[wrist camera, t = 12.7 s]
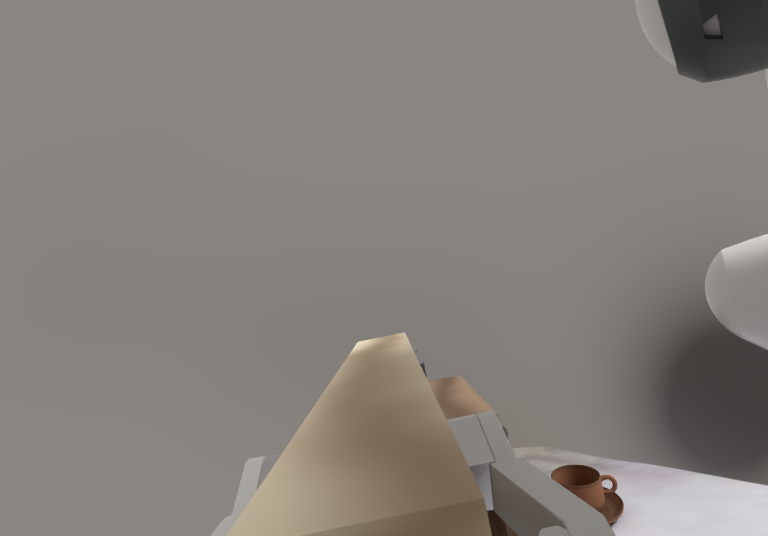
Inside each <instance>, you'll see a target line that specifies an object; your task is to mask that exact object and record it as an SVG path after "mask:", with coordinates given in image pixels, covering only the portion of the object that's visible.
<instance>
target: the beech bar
mask: <svg viewBox="0 0 768 536" xmlns="http://www.w3.org/2000/svg"><path fill="white" fill-rule="evenodd" d="M226 536H492V533H491V528H490V523H489V519H488V514H487V509H486V504H485V499H484V497H483V495H482V492H481V490H480V488H479V486H478V484H477V482H476V480H475V478H474V476H473V474H472V472H471V470H470V468H469V465H468V463H467V461H466V459H465V457H464V455H463V453H462V451H461V449H460V447H459V445H458V443H457V440H456V438H455V436H454V434H453V432H452V430H451V428H450V426H449V424H448V422H447V420H446V418H445V415H444V413H443V411H442V409H441V407H440V405H439V403H438V401H437V399H436V397H435V395H434V393H433V391H432V388H431V386H430V384H429V382H428V380H427V378H426V376H425V374H424V372H423V370H422V368H421V366H420V363H419V361H418V359H417V357H416V355H415V353H414V351H413V349H412V347H411V345H410V343H409V341H408V339H407V336H406V334H405V333H400V334H395V335H390V336H385V337H380V338H375V339H370V340H366V341H360V342H358V343H357V344H356V346H355V347H354V349H353V350H352V351H351V353H350V355H349V356H348V357H347V359H346V360H345V362H344V363H343V365H342V366H341V368H340V369H339V371H338V372H337V374H336V375H335V376H334V378H333V379H332V381H331V382H330V384H329V385H328V387H327V388H326V390H325V391H324V393H323V394H322V396H321V397H320V398H319V400H318V402H317V403H316V404H315V406H314V407H313V409H312V410H311V412H310V413H309V415H308V416H307V418H306V419H305V421H304V422H303V423H302V425H301V426H300V428H299V430H298V431H297V432H296V434H295V435H294V437H293V438H292V440H291V441H290V443H289V444H288V445H287V447H286V448H285V450H284V451H283V453H282V454H281V456H280V457H279V459H278V460H277V462H276V463H275V465H274V466H273V468H272V469H271V470H270V472H269V473H268V475H267V476H266V478H265V479H264V481H263V482H262V484H261V485H260V487H259V488H258V490H257V491H256V492H255V494H254V495H253V497H252V498H251V500H250V501H249V503H248V504H247V506H246V507H245V509H244V510H243V512H242V513H241V515H240V516H239V517H238V519H237V520H236V522H235V523H234V525H233V526H232V528H231V529H230V531H229V532H228V534H227V535H226Z"/></svg>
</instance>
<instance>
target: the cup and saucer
mask: <svg viewBox="0 0 768 536" xmlns="http://www.w3.org/2000/svg"><path fill="white" fill-rule="evenodd" d="M551 477H552V479H553V480H554V481H556V482H557V483H559V484H560V485H562V486H563V487H564V488H566V489H567V490H569V491H570V492H571V493H573V494H574V495H576V496H577V497H579V498H580V499H581V500H583V501H584V502H586V503H587V504H588V505H590V506H591V507H593V508H594V509H596V510H597V511H598V512H600V513H601V514H603V515H604V517H605V519H606V520H607V522H608V524H611V523H613V522H614V521H616V520H617V519H618V518H619V517H620V516H621V514H622V513H623V501H622V499H621V498H620V497H619V496H618V495H617V494H616V493H615V491H616V489H617V482H616V480H615V479H614V478H613V477H612V476H610V475H602V476H600V474H599V472H598V471H597V470H595V469H594V468H591V467H588V466H584V465H566V466H562V467H559V468H557V469H555V470H554V471H553V472H552V474H551ZM605 479H609V480H611V481H612V483H613V487H612V488H611V489H610V490H609V489H607V488H605V487H603V486H602V481H603V480H605Z"/></svg>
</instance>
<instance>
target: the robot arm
mask: <svg viewBox="0 0 768 536" xmlns="http://www.w3.org/2000/svg"><path fill="white" fill-rule="evenodd" d="M635 3H636V9H637V14H638V18H639V21H640V24H641V26H642V29H643V31H644V33H645V35H646V37H647V38H648V40H649V42H650V43H651V44H652V45H653V47H654V48H655V49H656V51H657V52H658V53H659V54H660V55H662V56H663V57H664V58H665V59H666V60H667V61H669V62H670V63H672V64H673V65H675V66H676V68H677V71H678V73H679V74H680V75H683V76H686V77H688V78H691V79H694V80H697V81H700V82H702V83H704V82H712V81H718V80H723V79H728V78H733V77H737V76H741V75H746V74H749V73H753V72H757V71H761V70H764V69H765V70H766V81H767V87H768V0H635ZM705 293H706V298H707V301H708V304H709V306H710V308H711V310H712V312H713V313H714V314H715V316H716V317H717V318H718V320H719V321H720V322H721V323H722V324H723V325H724V326H725V327H726V328H728V329H729V330H730V331H732V332H733V333H734V334H736V335H738V336H739V337H741V338H743V339H745V340H747V341H749V342H752V343H754V344H756V345H759V346H761V347H763V348H765V349H767V350H768V234H766V235H763V236H760V237H757V238H754V239H750V240H747V241H745V242H742V243H739V244H736V245H733V246H731V247H728V248H725V249H722V250H721V251H720V252H719V253H718V254H717V255H716V257H715V258H714V260H713V261H712V263H711V265H710V266H709V269H708V272H707V275H706V279H705ZM447 422H448V424H449V426H450V428H451V430H452V432H453V434H454V436H455V438H456V440H457V443H458V445H459V447H460V449H461V451H462V453H463V455H464V457H465V459H466V461H467V463H468V465H469V468H470V470H471V472H472V474H473V476H474V478H475V480H476V482H477V484H478V486H479V488H480V490H481V492H482V495H483V497H484V499H485V504H486V509H487V511H489V510H494V511H495V512H496V513H497V514H498V515H499V516H500V517H501V518H502V519H503V520H504V521H505V522H506V523H507V524H508V525H509V527H510V528H511V529H512V530H513V531H514V532H515V533H516V534H517V535H518V536H615V534H614V532H613V531H612V529H611V527H610V525H609V524H608V522H607V520H606V519H605V517H604V515H603V514H601V513H600V512H598V511H597V510H596V509H594V508H593V507H591V506H590V505H588V504H587V503H586V502H584V501H583V500H581V499H580V498H579V497H577V496H576V495H574V494H573V493H571V492H570V491H569V490H567V489H566V488H564V487H563V486H562V485H560V484H559V483H557V482H556V481H554V480H553V479H552V478H550V477H549V476H547V475H546V474H545V473H543V472H542V471H540V470H539V469H538V468H536V467H535V466H533V465H532V464H530V463H529V462H528V461H526V460H525V459H523V458H522V457H521V458H516V456H515V454H514V452H513V450H512V448H511V445H510V443H509V441H508V439H507V437H506V435H505V432H504V430H503V428H502V426H501V424H500V421H499V419H498V417H497V415H496V413H495V412H494V411H493V410H492V411H487V412H483V413H478V414H472V415H467V416H463V417H458V418H453V419H449V420H447ZM281 454H282V453H279V454H273V455H267V456H263V457H257V458H252V459H248V461H247V462H246V464H245V466H244V470H243V473H242V477H241V481H240V485H239V489H238V492H237V496H236V500H235V504H234V508H233V512H232V515H231V516H227V517H225V519H224V520H223V521H222V522H221V523H220V525H219V526H218V527H217V528H216V530H215V531H214V532H213V533H212V534H211V535H210V536H226V535H227V534H228V532H229V531H230V529H231V528H232V526H233V525H234V523H235V522H236V520H237V519H238V517H239V516H240V515H241V513H242V512H243V510H244V509H245V507H246V506H247V504H248V503H249V501H250V500H251V498H252V497H253V495H254V494H255V492H256V491H257V490H258V488H259V487H260V485H261V484H262V482H263V481H264V479H265V478H266V476H267V475H268V473H269V472H270V470H271V469H272V468H273V466H274V465H275V463H276V462H277V460H278V459H279V457H280V456H281Z"/></svg>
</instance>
